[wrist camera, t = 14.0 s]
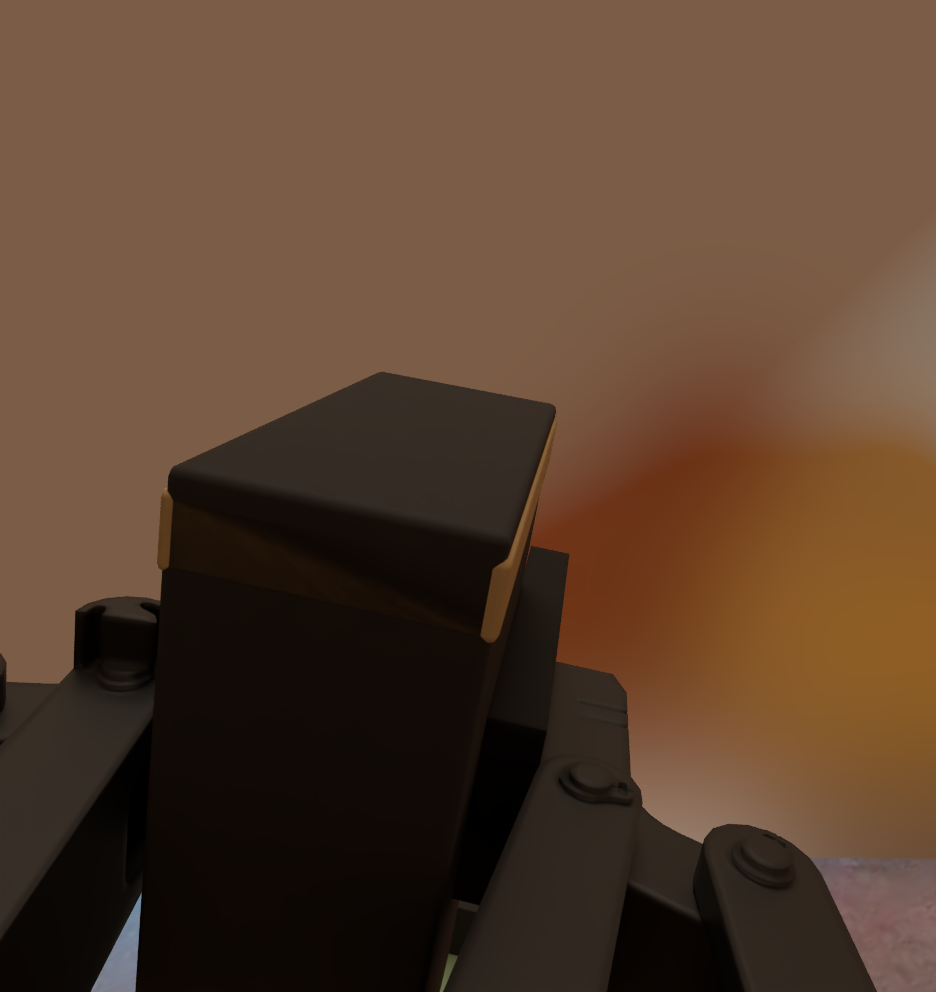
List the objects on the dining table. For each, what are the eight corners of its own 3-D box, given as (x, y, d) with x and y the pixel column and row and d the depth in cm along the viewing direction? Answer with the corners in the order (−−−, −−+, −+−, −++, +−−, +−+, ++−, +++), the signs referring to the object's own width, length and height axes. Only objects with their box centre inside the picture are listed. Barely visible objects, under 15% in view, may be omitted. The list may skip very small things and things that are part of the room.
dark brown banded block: (350, 1405, 10) (517, 539, 7) (106, 1325, 10) (158, 464, 7) (452, 946, 17) (560, 404, 13) (303, 907, 17) (375, 369, 14)
